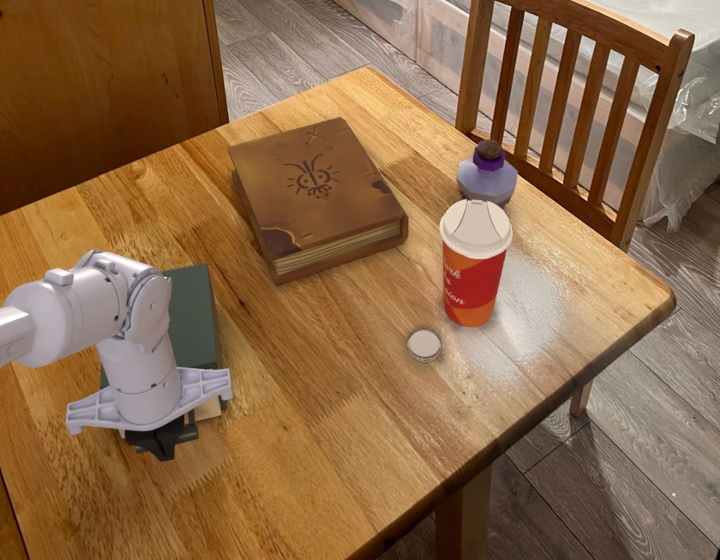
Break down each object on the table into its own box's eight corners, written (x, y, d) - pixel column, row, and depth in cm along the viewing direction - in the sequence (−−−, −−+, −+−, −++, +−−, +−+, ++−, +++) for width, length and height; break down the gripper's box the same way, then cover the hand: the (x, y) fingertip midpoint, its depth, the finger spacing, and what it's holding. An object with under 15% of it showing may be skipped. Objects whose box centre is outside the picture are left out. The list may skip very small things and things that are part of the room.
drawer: (225, 452, 75) (216, 416, 71) (120, 478, 73) (105, 442, 69) (212, 320, 88) (204, 283, 84) (124, 339, 86) (111, 302, 82)
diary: (408, 242, 99) (408, 212, 96) (275, 286, 93) (271, 255, 90) (346, 143, 116) (345, 114, 113) (232, 174, 111) (227, 145, 108)
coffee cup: (436, 277, 94) (441, 192, 85) (501, 283, 93) (513, 198, 84) (432, 332, 87) (437, 246, 79) (502, 340, 86) (515, 253, 78)
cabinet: (227, 408, 80) (216, 361, 75) (118, 434, 78) (99, 387, 73) (216, 308, 91) (207, 262, 86) (120, 329, 89) (105, 282, 84)
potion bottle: (525, 206, 104) (534, 141, 97) (495, 242, 99) (503, 176, 92) (472, 181, 108) (478, 117, 102) (441, 215, 103) (444, 150, 96)
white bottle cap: (443, 335, 87) (443, 332, 86) (438, 364, 84) (438, 361, 83) (410, 329, 88) (410, 325, 87) (404, 357, 84) (404, 354, 84)
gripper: (220, 311, 68) (237, 397, 76) (58, 344, 66) (92, 430, 73) (227, 376, 62) (244, 462, 70) (49, 415, 60) (87, 501, 67)
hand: (167, 451), depth 71 cm, fingers closed, pressing on drawer
